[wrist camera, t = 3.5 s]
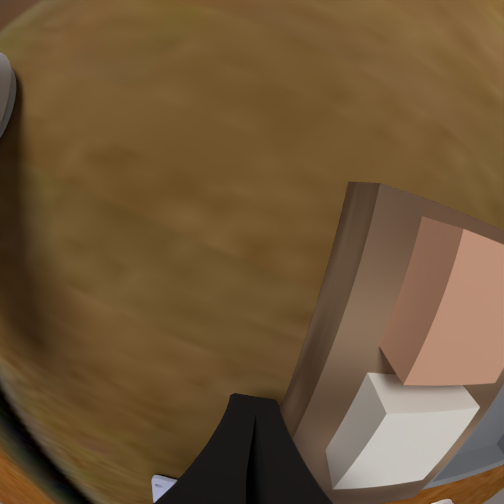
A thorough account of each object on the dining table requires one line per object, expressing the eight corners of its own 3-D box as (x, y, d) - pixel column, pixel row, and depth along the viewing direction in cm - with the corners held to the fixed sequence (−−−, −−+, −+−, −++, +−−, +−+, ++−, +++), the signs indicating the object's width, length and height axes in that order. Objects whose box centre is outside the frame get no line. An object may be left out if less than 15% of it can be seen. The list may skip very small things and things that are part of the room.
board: (401, 464, 14) (413, 497, 11) (258, 463, 14) (256, 505, 11) (514, 241, 10) (555, 257, 7) (348, 181, 10) (379, 183, 7)
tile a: (408, 447, 9) (422, 479, 7) (325, 450, 9) (332, 489, 7) (454, 375, 8) (480, 407, 6) (367, 372, 8) (387, 413, 6)
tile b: (466, 353, 8) (495, 383, 6) (378, 346, 8) (402, 385, 6) (506, 247, 7) (545, 263, 5) (422, 216, 7) (463, 228, 5)
